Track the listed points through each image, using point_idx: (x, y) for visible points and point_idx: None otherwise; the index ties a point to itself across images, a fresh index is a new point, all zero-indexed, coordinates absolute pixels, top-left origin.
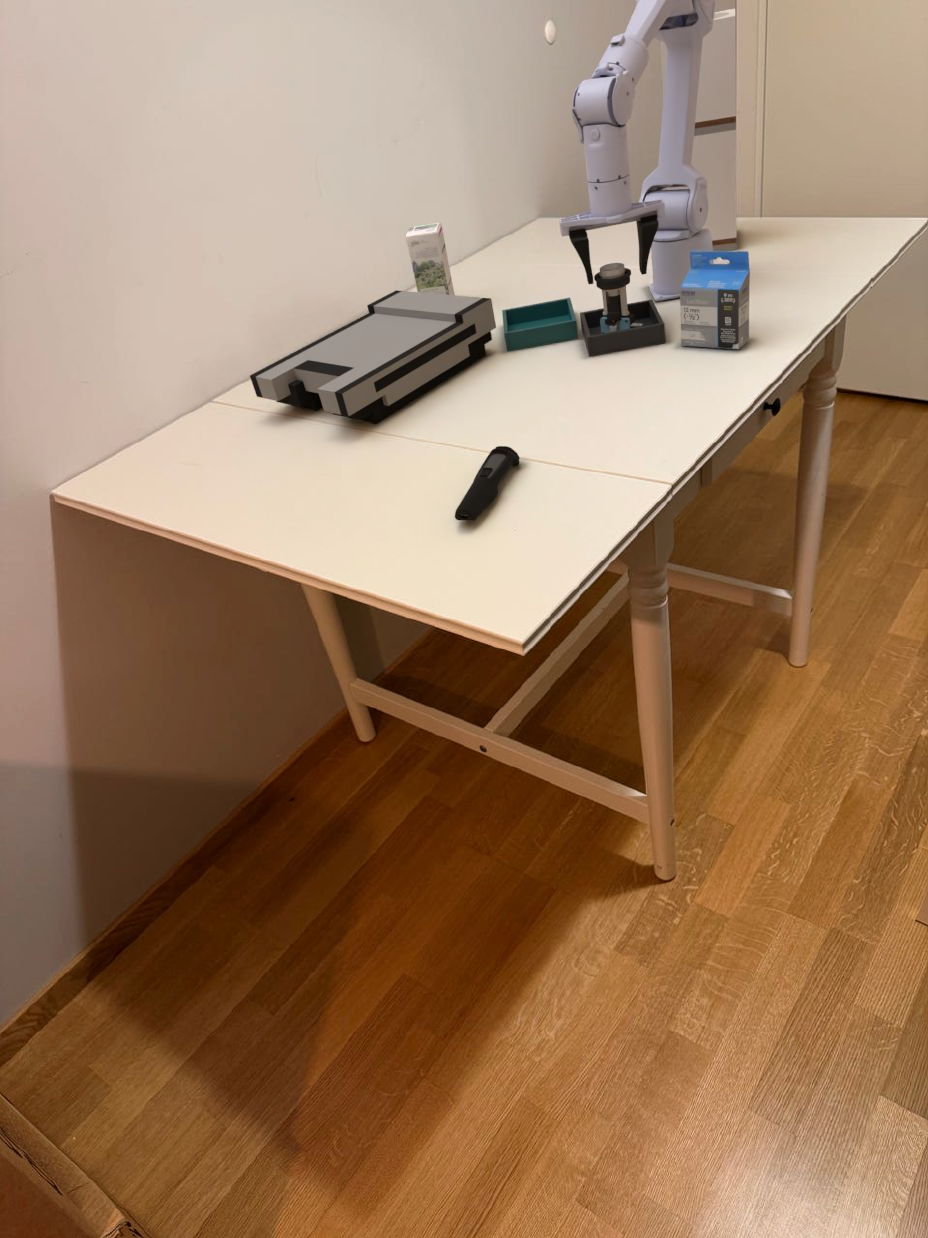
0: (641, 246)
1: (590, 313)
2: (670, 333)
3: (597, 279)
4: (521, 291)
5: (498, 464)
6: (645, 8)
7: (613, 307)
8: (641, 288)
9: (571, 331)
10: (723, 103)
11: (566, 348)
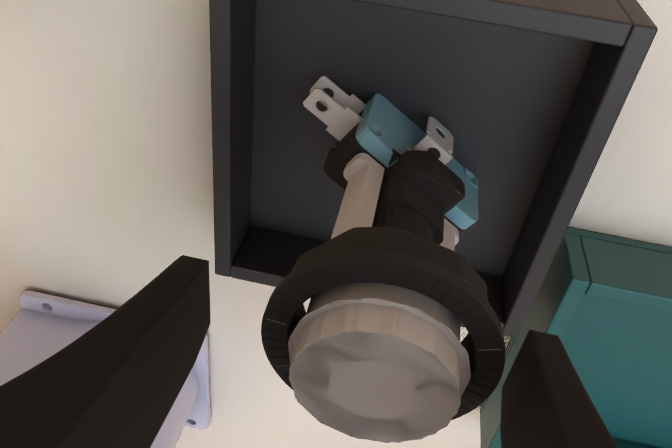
0: (112, 405)
1: None
2: (203, 36)
3: (500, 339)
4: None
5: None
6: None
7: (419, 203)
8: (230, 428)
9: (594, 252)
10: None
11: (660, 163)
